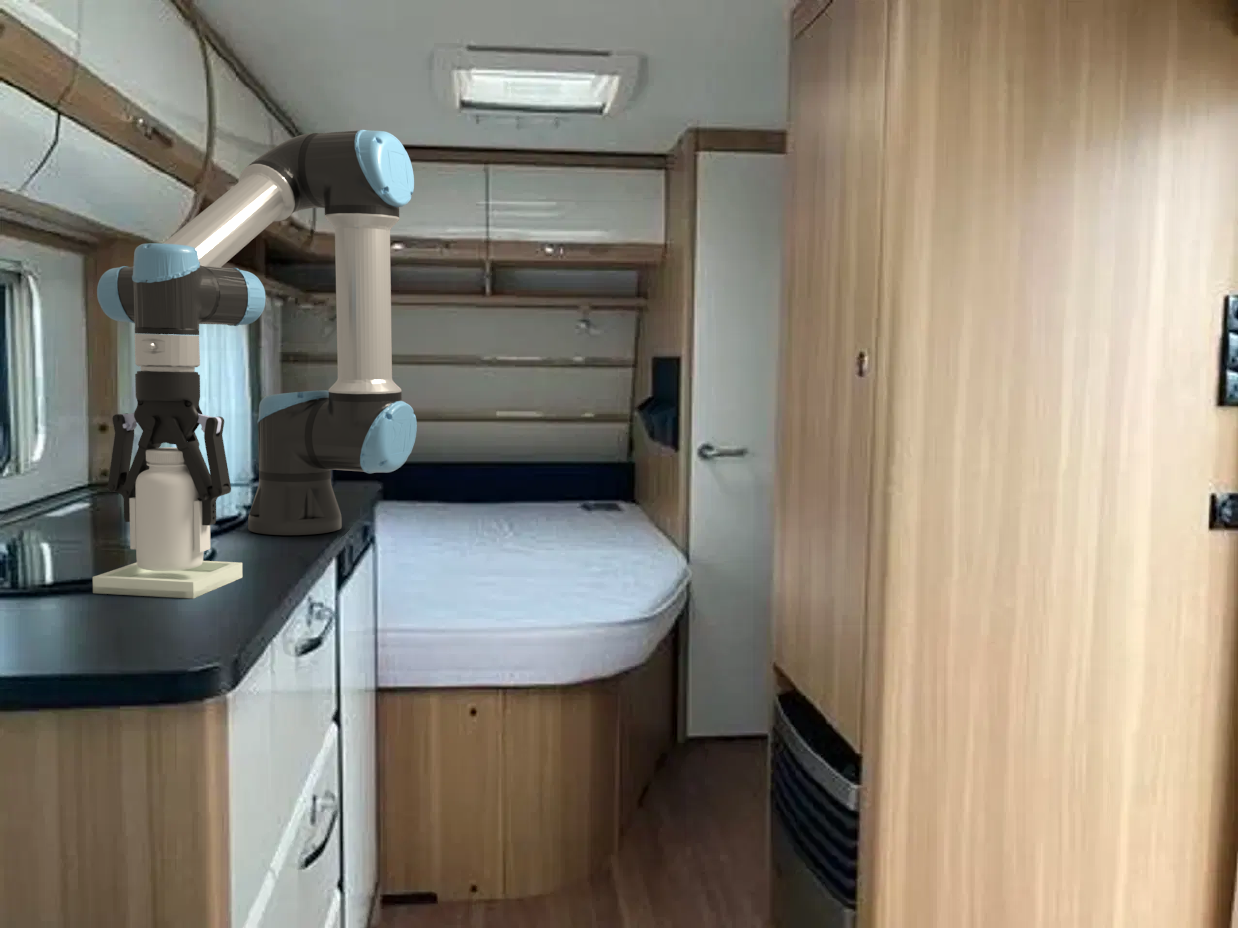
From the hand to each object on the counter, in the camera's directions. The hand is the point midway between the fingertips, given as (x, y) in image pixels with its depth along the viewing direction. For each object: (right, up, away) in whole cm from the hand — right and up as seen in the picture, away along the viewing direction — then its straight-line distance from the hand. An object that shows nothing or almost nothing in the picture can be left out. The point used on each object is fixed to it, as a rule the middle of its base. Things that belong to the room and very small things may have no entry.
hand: (170, 548), depth 141 cm
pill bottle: (0, -2, 0) cm, 2 cm away
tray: (0, -5, 0) cm, 5 cm away
